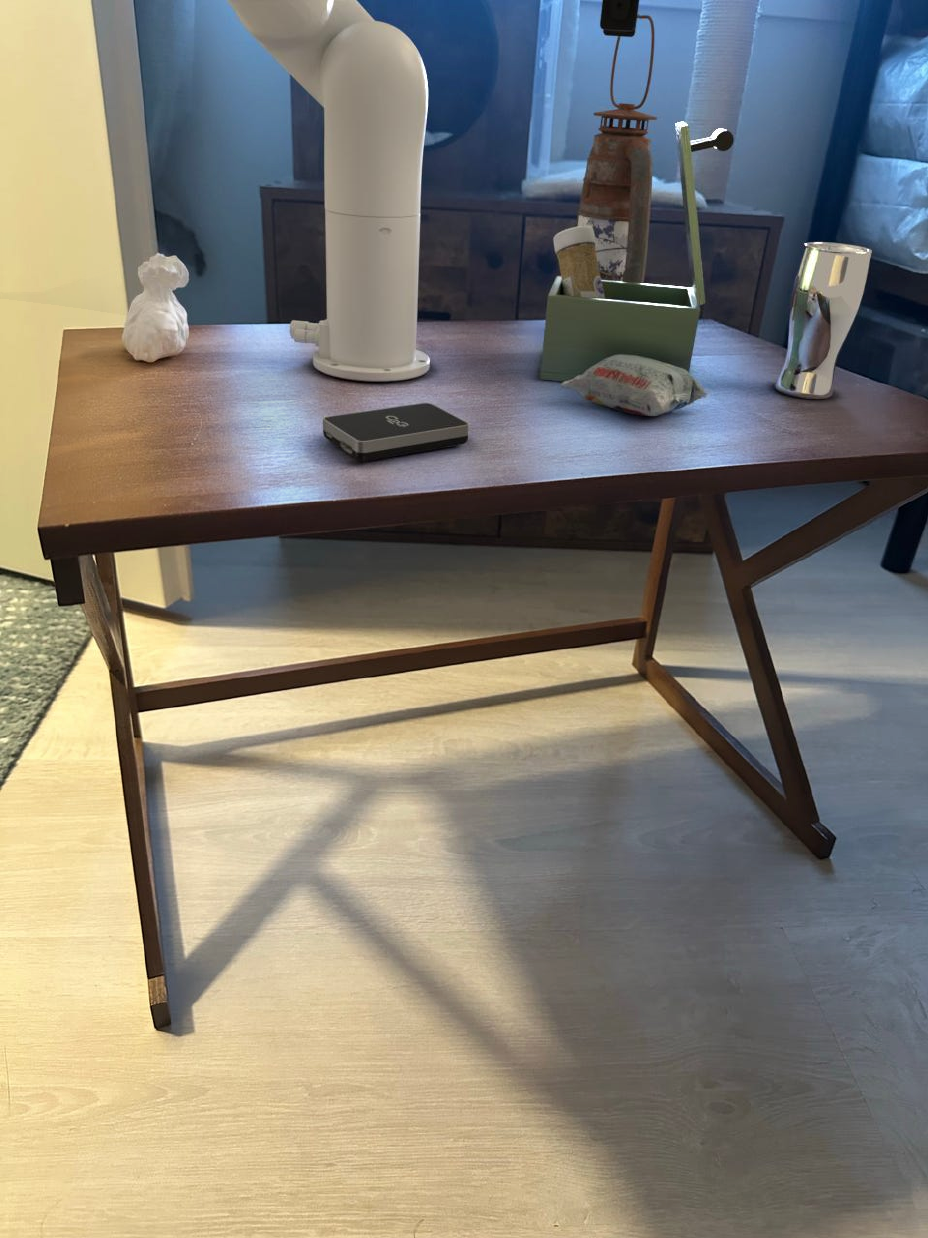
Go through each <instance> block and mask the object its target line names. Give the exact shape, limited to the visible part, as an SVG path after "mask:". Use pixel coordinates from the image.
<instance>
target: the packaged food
mask: <svg viewBox="0 0 928 1238" xmlns="http://www.w3.org/2000/svg"><path fill="white" fill-rule="evenodd" d="M560 387H563V388H564V387H568V388H569V389H572V390H575V391H576V392H578V393H579V395H580V396H581V397H582V398H584V399H585V400H587V401H588V402H591V403H594V404H597V405H602V406H605V407H608V408H611V409H614V410H617V411H620V412H624V413H626V414H631V415H637V416H643V417H657V416H660V415H664V414H667V413H670V412H673V411H676V410H679V409H683V408H684V407H686V406H689V405H691V404H694V403H695V402H696V401H697V400H700V399H702V398H706V397H707V396H708V392H707V391H706V390H705V388H704V387H703V386H702V385H701V384H700V382H699V381H698V380H697V379H696V378H695V377H694V376H693V375H691V374H690V372H689V373H688V372H687V371H686V370H685V369H682V368H679V367H676V366H673V365H670V364H667V363H664V362H660V361H657V360H654V359H650V358H645V357H640V356H634V355H623V354H617V355H614V356H611V357H609V358H606V359H604V360H602V361H601V362H599V363H597V364H596V365H594V366H592V367H590V368H589V369H588V370H586V371H585V372H584V374H582V375H578V376H577V377H575V378H574V379H572V380H569V381H565V382H562V383H561V384H560Z"/></svg>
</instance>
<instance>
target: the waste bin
mask: <svg viewBox="0 0 928 1238" xmlns="http://www.w3.org/2000/svg"><path fill="white" fill-rule="evenodd" d="M602 285H603V290H604V296H605V299H598V298H588V297H577V296H566V295H564V291H563V286H562V277H561V275H556V276H555V278H554V281H553V283H552V286H551V288H550V290H549V292H548V295H547V302H546V311H545V312H546V313H545V323H544V332H543V341H542V342H543V343H542V352H541V361H540V373H539V380H541V381H551V382H552V381H553V382H562V383H563V382H565V381H569V380H572V379H574V378H575V377H577V376H578V375H582V374H584V372H585V371H586V370H588V369H589V368H590V367H592V366H594V365H596V364H597V363H599V362H601V361H602V360H604V359H606V358H609V357H611V356H614V355H617V354H623V355H634V356H640V357H645V358H650V359H654V360H657V361H660V362H664V363H667V364H670V365H673V366H676V367H679V368H682V369H685V370H686V371H687V372H688V373H689V374H690V369H691V364H692V363H691V362H692V358H693V353H694V348H695V342H696V335H697V331H698V324H699V321H700V313H701V308H700V305H697V302H696V299H695V296H694V292H693V289H692V287H686V286H675V285H665V284H664V285H663V284H653V283H632V282H620V281H609V280H602Z"/></svg>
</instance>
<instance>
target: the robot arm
mask: <svg viewBox="0 0 928 1238" xmlns="http://www.w3.org/2000/svg"><path fill="white" fill-rule="evenodd" d="M226 1H227V2H228V3H229V5H230V6H231V7H232V9H233V10H234V12H235V15H236V17H237V18H238V19H239V21H240V22H241V24H242V25H243V27H244V28H245V29H246V31H247V32H248V33H249V34H250V35H251V36H252V37H253V38H254V39H255V40H256V41H257V42H258V43H259V45H261V46H262V48H264V49H265V50H266V51H267V53H268V54H269V55H271V57H272V58H273V59H274V60H275V61H277V63H278V64H279V65H280V66H282V68H283V69H284V70H285V71H287V73H288V74H289V75H290V76H291V77H292V78H293V79H294V80H295V81H296V82H297V83H298V84H299V85H300V86H301V87H302V88H303V89H304V90H305V91H306V92H307V93H308V94H309V95H310V96H311V97H312V98H313V99H314V100H315V101H316V102H317V103H319V105H320V106H321V107H322V108H323V115H324V117H323V118H324V119H323V120H324V124H323V125H324V127H323V128H324V131H323V132H324V134H323V135H324V136H323V137H324V143H323V147H324V148H323V151H324V153H323V154H324V155H323V161H324V162H323V164H324V165H323V171H324V175H323V177H324V178H323V179H324V181H323V182H324V185H323V188H324V216H325V219H324V220H325V221H324V222H325V277H326V278H325V280H326V281H325V283H326V284H325V285H326V288H325V289H326V319H324V320H322V319H321V320H319V322H318V323H314V322H309V321H306V320H305V321H304V320H295V319H293V320H291V321H290V326H289V336H290V338H291V339H293V341H294V342H295V343H300V344H301V343H302V344H315V346H316V347H317V348H318V349H316V350H315V351H314V353H313V354H312V365H313V367H314V368H315V369H316V370H317V371H319V372H321V373H323V374H325V375H328V376H331V377H334V378H340V379H342V380H343V379H344V380H350V381H357V382H358V381H359V382H375V383H376V382H377V383H381V382H383V383H384V382H398V381H399V382H400V381H407V380H411V379H416V378H418V377H421V376H423V375H425V374H426V373H428V371H429V370H430V367H431V359H430V357H429V356H428V354H427V353H425V352H423V351H422V350H419V349H417V331H418V328H417V327H418V303H419V302H418V301H419V300H418V299H419V273H420V272H419V267H420V242H421V241H420V240H421V239H420V238H421V237H420V236H421V235H420V234H421V198H422V197H421V195H422V174H423V173H422V172H423V171H422V170H423V157H424V146H425V138H426V128H427V118H428V107H429V87H428V85H429V84H428V78H427V77H428V76H427V71H426V67H425V65H424V61H423V58H422V56H421V53H420V52H419V50H418V48H417V47H416V45H415V44H414V42H413V41H412V40H411V38H410V37H408V35H406V33H404V32H403V31H402V30H401V29H399V28H397V27H396V26H394V25H392V24H390V23H387V22H383V21H379V20H375V19H374V18H373V17H372V15H370V13H368V12H367V10H366V9H365V8H364V7H363V6H362V5H361V3H360V2H358V0H226ZM601 2H602V3H601V11H600V19H599V27H600V28H601V30H602V32H603V35H604V36H607V37H618V36H621V37H620V38H622V37H623V38H633V37H634V36H635V35H636V31H637V22H638V18H637V15H638V14H639V6H640V0H602V1H601Z"/></svg>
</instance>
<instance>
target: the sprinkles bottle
mask: <svg viewBox="0 0 928 1238" xmlns="http://www.w3.org/2000/svg"><path fill="white" fill-rule="evenodd" d="M595 237H596V234H595V229H594V230H593V228H592V227H590V226H578V227H576V226H575V227H574V226H573V227H570V228H565V229H563V230H561V231H559V232H557V233H556V234H555V235H554V236H553V238H552V241H553V242H552V243H553V247H554V248H553V249H554V252H555V255H556V257H557V259H558V266H559V271H560V276H561V277H562V286H563V291H564V295H566V296H577V297H588V298H598V299H605V296H604V290H603V285H602V280H601V277H600V272H599V270H600V266H599V265H598V264H599V262H598V261H597V257H596V251H595V249H596V247H595V245H596V240H595ZM598 266H599V267H598Z"/></svg>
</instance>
